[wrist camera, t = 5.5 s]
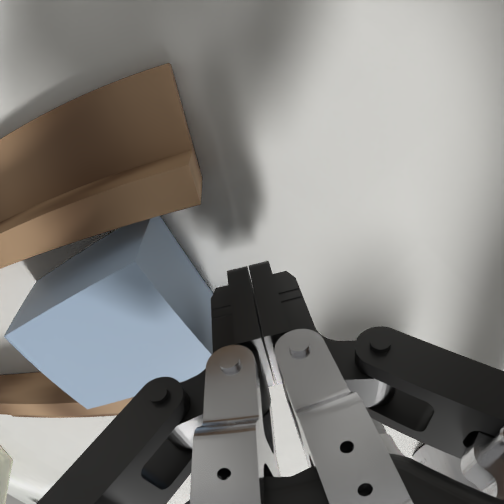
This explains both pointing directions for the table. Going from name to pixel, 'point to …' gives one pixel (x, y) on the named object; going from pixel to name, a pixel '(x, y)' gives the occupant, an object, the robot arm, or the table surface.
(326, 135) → the table surface
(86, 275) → the block
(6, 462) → the skincare box
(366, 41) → the table surface
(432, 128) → the table surface
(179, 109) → the chute
